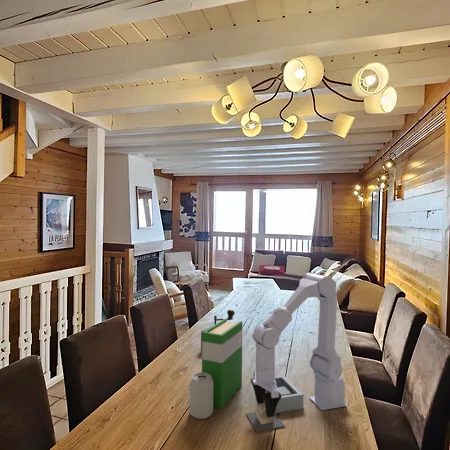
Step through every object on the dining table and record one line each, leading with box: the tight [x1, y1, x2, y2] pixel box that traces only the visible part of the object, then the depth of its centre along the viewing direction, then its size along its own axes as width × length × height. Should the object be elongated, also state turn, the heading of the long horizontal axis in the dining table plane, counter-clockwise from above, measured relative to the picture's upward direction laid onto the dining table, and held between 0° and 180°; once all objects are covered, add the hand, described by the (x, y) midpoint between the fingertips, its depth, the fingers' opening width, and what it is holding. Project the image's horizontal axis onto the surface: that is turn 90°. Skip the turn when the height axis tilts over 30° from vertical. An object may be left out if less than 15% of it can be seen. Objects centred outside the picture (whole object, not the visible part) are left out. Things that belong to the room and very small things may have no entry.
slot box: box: [265, 375, 305, 414], centre depth 114 cm, size 10×14×5 cm
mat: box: [245, 411, 286, 433], centre depth 101 cm, size 9×9×1 cm
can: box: [189, 371, 214, 420], centre depth 105 cm, size 8×8×12 cm
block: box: [255, 402, 274, 424], centre depth 101 cm, size 4×4×4 cm
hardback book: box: [201, 318, 243, 410], centre depth 117 cm, size 18×7×24 cm, turn 155°
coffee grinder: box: [200, 309, 235, 352], centre depth 161 cm, size 16×11×18 cm
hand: (265, 409), depth 101 cm, fingers open, 7 cm apart
